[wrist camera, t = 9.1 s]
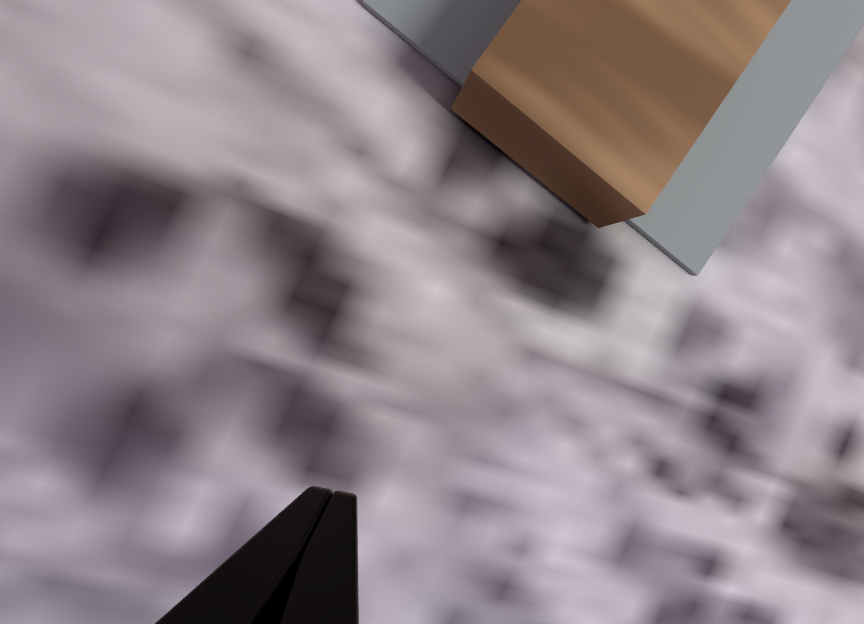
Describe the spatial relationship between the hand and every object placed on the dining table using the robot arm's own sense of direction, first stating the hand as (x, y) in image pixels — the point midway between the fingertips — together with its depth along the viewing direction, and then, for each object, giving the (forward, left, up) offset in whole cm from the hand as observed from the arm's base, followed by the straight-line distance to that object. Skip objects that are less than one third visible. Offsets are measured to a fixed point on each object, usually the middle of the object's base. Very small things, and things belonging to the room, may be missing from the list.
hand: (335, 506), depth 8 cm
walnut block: (+8, -7, -7) cm, 13 cm away
